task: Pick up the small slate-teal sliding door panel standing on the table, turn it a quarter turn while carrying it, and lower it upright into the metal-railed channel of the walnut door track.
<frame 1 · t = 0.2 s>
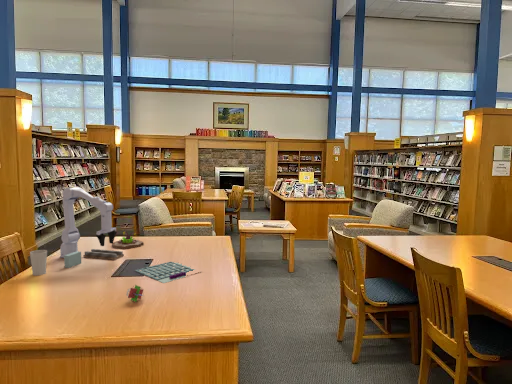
hand: (106, 244, 221), 10 cm above the table, tool pointing down, fingers open, 7 cm apart
geometric puzzle: (136, 301, 160), on the table
plant: (127, 246, 260), on the table
door track: (103, 256, 230), on the table
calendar: (169, 272, 202), on the table
door panel: (73, 265, 211), on the table
cup: (39, 273, 195), on the table
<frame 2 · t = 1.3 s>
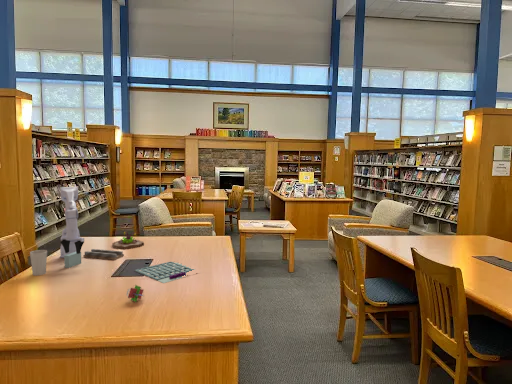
hand: (72, 253, 210), 7 cm above the table, tool pointing down, fingers open, 7 cm apart
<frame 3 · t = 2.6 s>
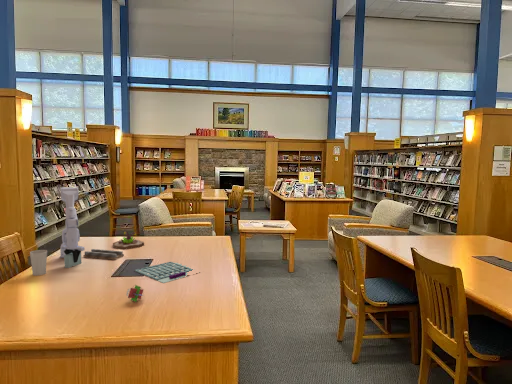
hand: (73, 261, 211), 2 cm above the table, tool pointing down, fingers closed on door panel, 3 cm apart
door panel: (73, 265, 211), on the table, touching gripper
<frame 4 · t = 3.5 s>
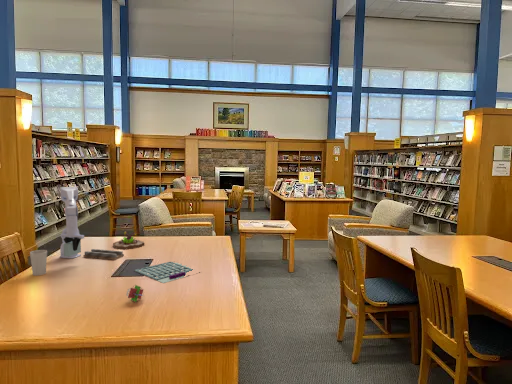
hand: (72, 250, 210), 9 cm above the table, tool pointing down, fingers closed on door panel, 3 cm apart
door panel: (72, 254, 210), point 7 cm above the table, touching gripper
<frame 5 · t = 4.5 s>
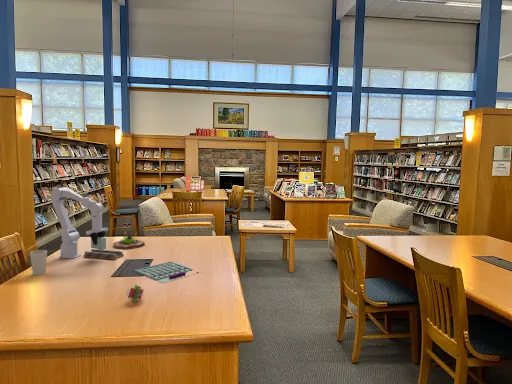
hand: (97, 244, 226), 9 cm above the table, tool pointing down, fingers closed on door panel, 3 cm apart
door panel: (98, 248, 225), point 6 cm above the table, touching gripper
when the fingers open (4 cm above the table, at t = 6.0 s): door panel stays where it is, resting on door track.
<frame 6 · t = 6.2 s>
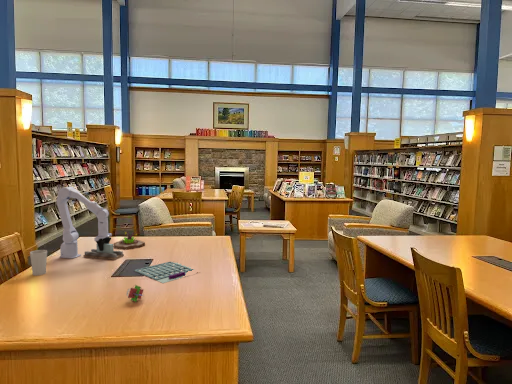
hand: (103, 249, 230), 4 cm above the table, tool pointing down, fingers open, 4 cm apart
door panel: (105, 254, 230), point 1 cm above the table, touching door track
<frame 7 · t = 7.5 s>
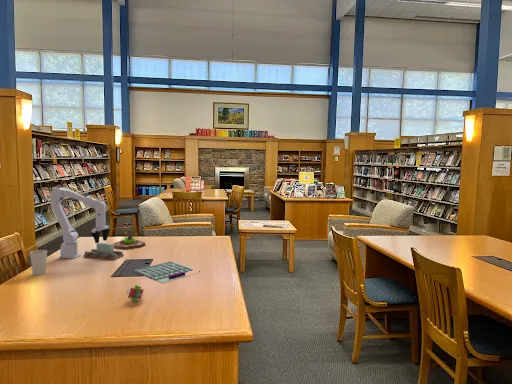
hand: (101, 241, 231), 9 cm above the table, tool pointing down, fingers open, 7 cm apart
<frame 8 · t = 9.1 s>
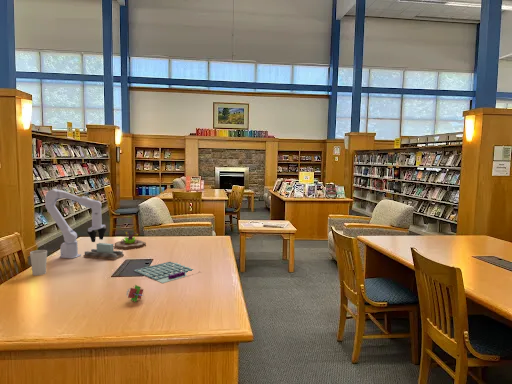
hand: (97, 240, 233), 9 cm above the table, tool pointing down, fingers open, 7 cm apart
at the end: door panel inside the target area on the door track (1.0 cm from its centre), point 1.2 cm above the door track's base; door panel tilted 0°; the gripper is holding nothing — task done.
